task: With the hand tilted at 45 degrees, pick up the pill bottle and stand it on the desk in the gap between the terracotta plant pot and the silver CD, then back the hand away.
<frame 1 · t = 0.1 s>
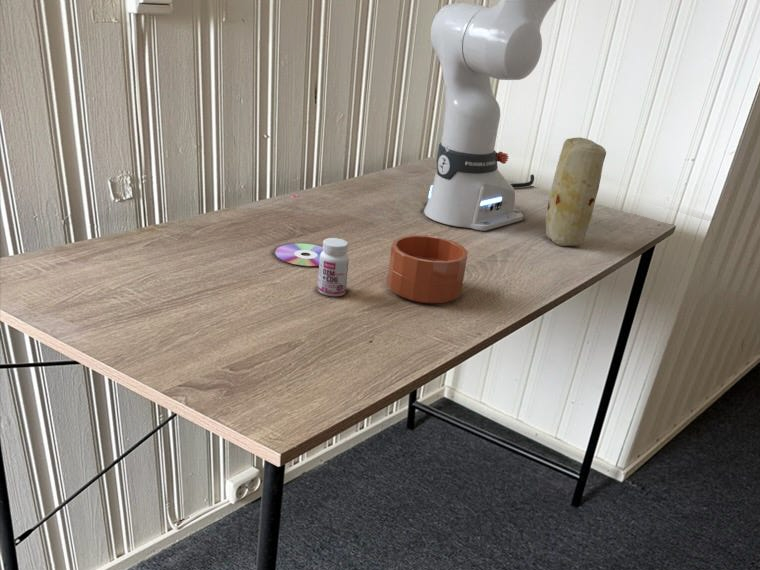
cd: (305, 255, 151), on the table
pot: (423, 290, 143), on the table
food model: (561, 242, 173), on the table
pill bottle: (331, 292, 139), on the table
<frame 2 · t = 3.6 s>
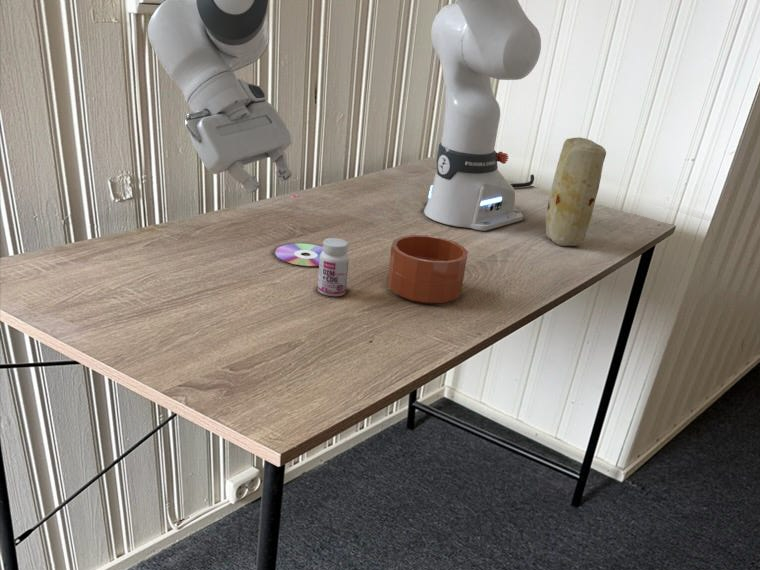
hand: (271, 184, 134), 15 cm above the table, tool tilted 45°, fingers open, 8 cm apart
nothing on the table moved.
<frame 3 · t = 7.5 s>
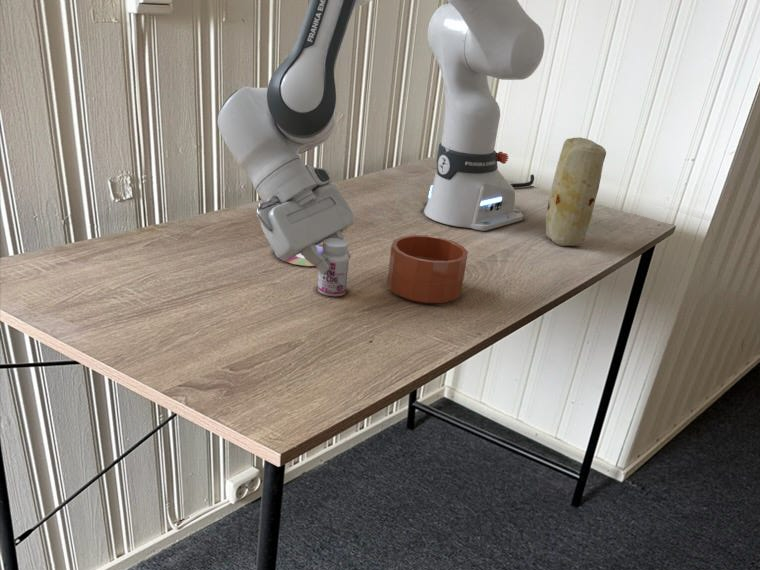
hand: (337, 266, 136), 5 cm above the table, tool tilted 45°, fingers closed on pill bottle, 5 cm apart
pill bottle: (331, 292, 139), on the table, touching gripper
everything else where it was.
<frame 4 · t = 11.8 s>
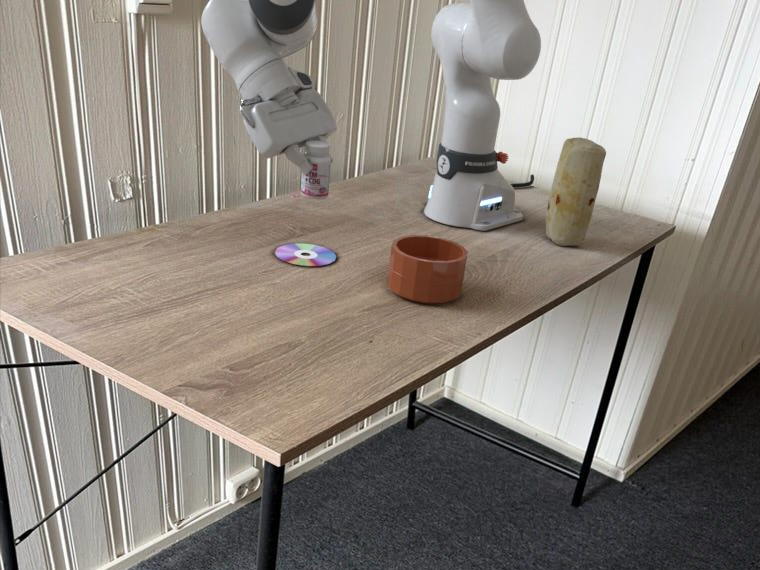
hand: (319, 168, 139), 16 cm above the table, tool tilted 45°, fingers closed on pill bottle, 5 cm apart
pill bottle: (314, 196, 142), point 11 cm above the table, touching gripper
everything else where it was.
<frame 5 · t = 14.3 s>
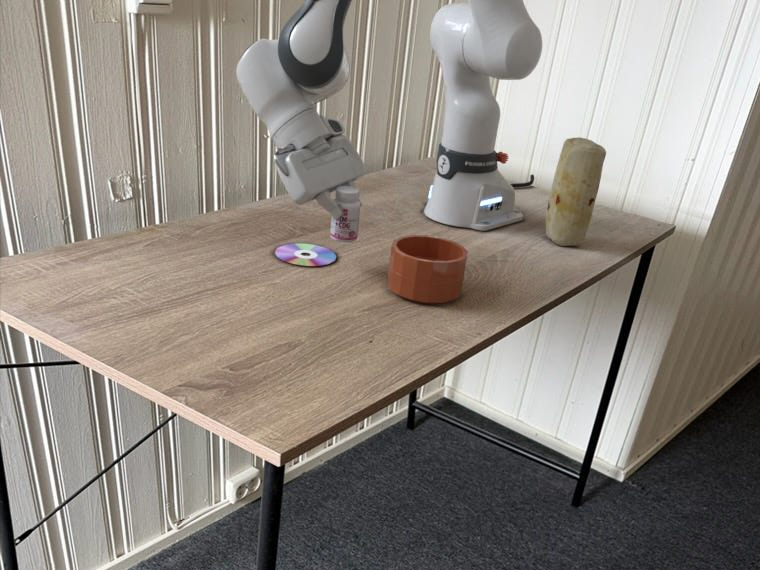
hand: (349, 212, 142), 10 cm above the table, tool tilted 45°, fingers closed on pill bottle, 5 cm apart
pill bottle: (343, 239, 146), point 5 cm above the table, touching gripper
everything else where it was.
when the fingers open (4 cm above the table, at t = 16.4 s): pill bottle stays where it is, on the table.
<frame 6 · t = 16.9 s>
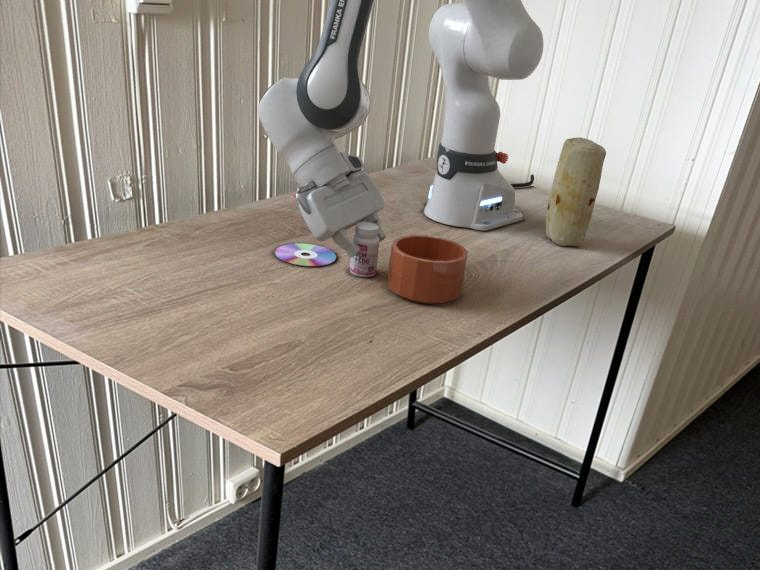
hand: (369, 247, 144), 5 cm above the table, tool tilted 45°, fingers open, 8 cm apart
pill bottle: (362, 273, 147), on the table
everything else where it was.
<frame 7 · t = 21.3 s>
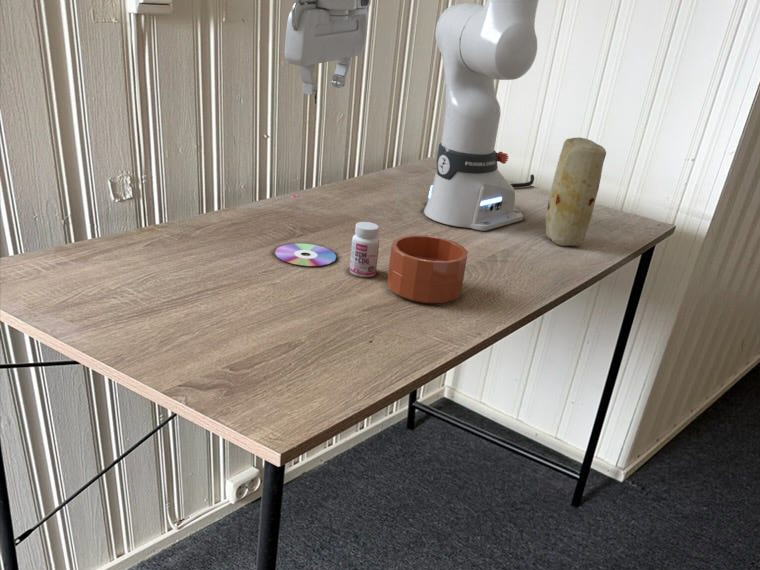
hand: (324, 90, 138), 27 cm above the table, tool pointing down, fingers open, 8 cm apart
nothing on the table moved.
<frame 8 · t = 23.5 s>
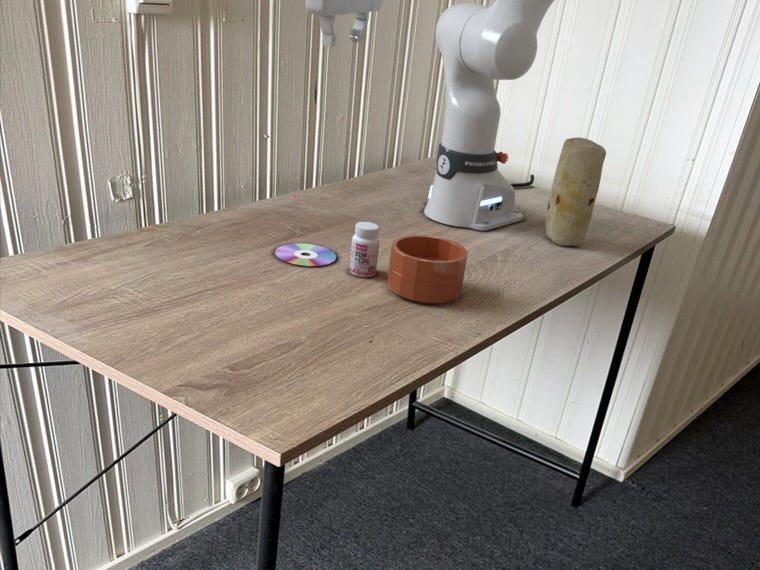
hand: (343, 43, 140), 33 cm above the table, tool pointing down, fingers open, 8 cm apart
nothing on the table moved.
at the end: pill bottle 0.1 cm from the target spot, on the table; pill bottle tilted 0°; the gripper is holding nothing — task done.
